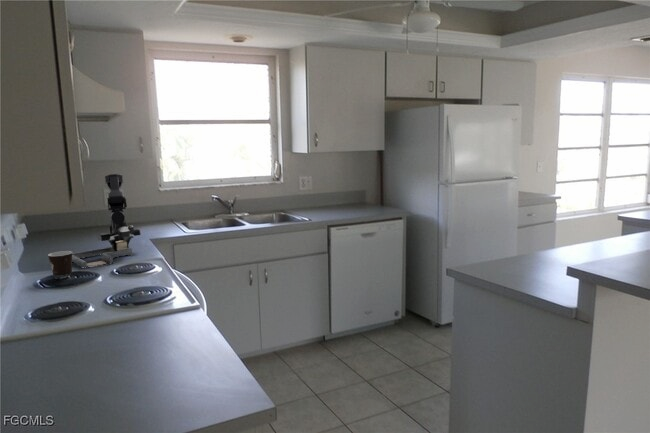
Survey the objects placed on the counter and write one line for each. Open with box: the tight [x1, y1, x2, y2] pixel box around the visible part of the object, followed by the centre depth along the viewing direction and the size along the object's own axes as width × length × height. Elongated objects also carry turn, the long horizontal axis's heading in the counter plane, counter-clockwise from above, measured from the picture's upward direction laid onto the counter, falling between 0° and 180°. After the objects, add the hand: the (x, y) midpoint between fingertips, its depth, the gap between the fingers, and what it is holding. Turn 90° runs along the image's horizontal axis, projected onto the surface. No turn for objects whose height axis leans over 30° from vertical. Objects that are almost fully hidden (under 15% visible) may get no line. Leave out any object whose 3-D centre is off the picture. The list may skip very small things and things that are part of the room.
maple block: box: [116, 240, 128, 251], centre depth 232 cm, size 4×4×6 cm
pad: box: [86, 260, 107, 265], centre depth 213 cm, size 7×8×1 cm
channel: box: [72, 246, 133, 268], centre depth 222 cm, size 22×25×3 cm
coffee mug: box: [47, 250, 73, 275], centre depth 192 cm, size 12×9×10 cm
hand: (121, 251), depth 232 cm, fingers closed on maple block, 4 cm apart
